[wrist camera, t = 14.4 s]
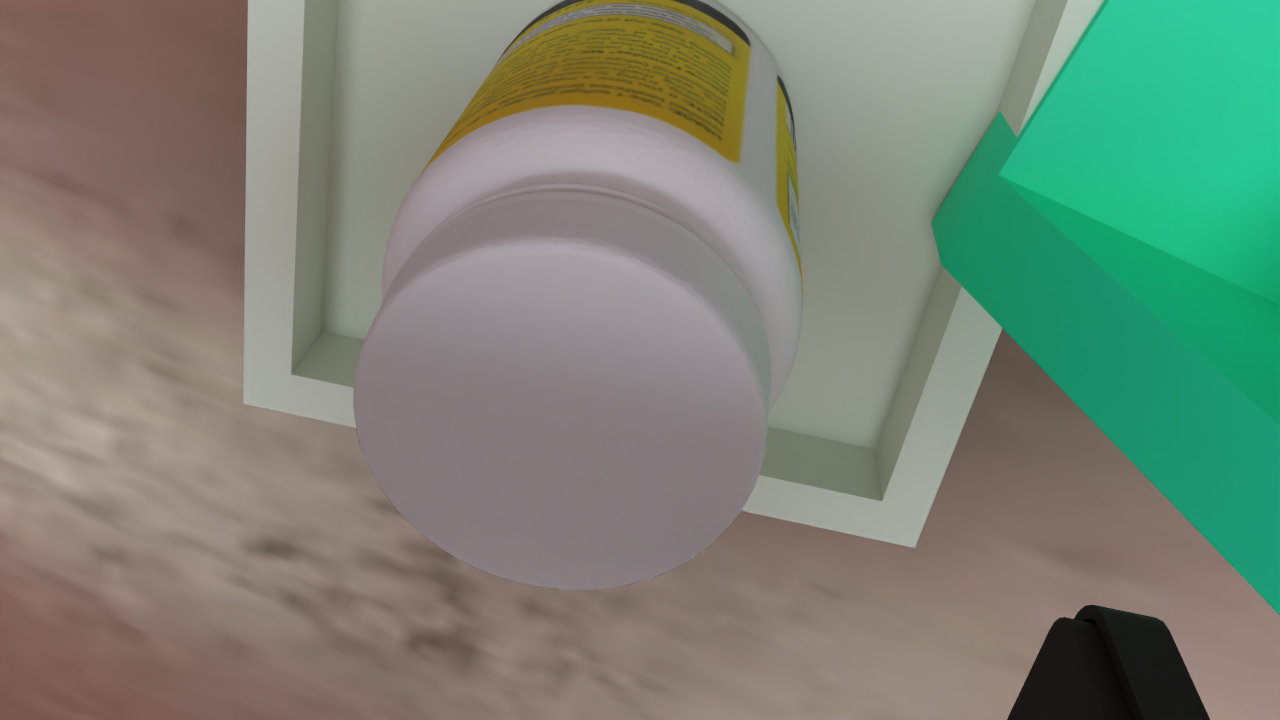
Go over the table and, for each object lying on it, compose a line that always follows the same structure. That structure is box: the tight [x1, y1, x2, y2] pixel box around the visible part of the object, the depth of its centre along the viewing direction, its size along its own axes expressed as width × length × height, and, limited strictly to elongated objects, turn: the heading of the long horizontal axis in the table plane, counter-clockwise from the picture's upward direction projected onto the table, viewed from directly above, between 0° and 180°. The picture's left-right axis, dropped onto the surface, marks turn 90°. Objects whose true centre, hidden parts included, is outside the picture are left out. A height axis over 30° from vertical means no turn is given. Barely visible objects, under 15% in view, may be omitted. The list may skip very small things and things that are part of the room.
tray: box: [243, 0, 1104, 548], centre depth 18 cm, size 12×12×2 cm
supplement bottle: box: [353, 0, 803, 590], centre depth 15 cm, size 5×5×8 cm
